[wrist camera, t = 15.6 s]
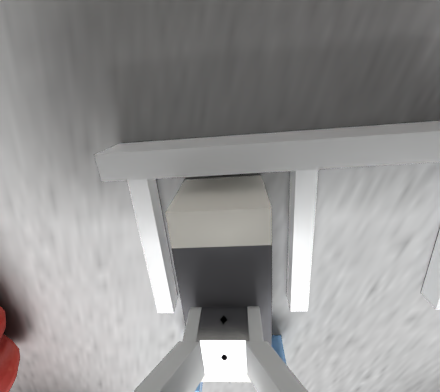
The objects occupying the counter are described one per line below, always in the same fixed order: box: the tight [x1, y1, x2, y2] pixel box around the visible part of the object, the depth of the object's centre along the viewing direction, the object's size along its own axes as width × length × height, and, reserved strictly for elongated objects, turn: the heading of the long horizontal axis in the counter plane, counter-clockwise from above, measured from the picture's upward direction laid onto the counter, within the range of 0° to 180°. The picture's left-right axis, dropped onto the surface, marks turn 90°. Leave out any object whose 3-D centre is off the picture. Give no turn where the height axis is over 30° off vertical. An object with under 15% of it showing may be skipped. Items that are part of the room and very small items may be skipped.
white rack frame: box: [94, 121, 440, 313], centre depth 12 cm, size 26×10×2 cm, turn 94°
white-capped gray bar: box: [165, 175, 272, 382], centre depth 13 cm, size 4×10×4 cm, turn 4°
